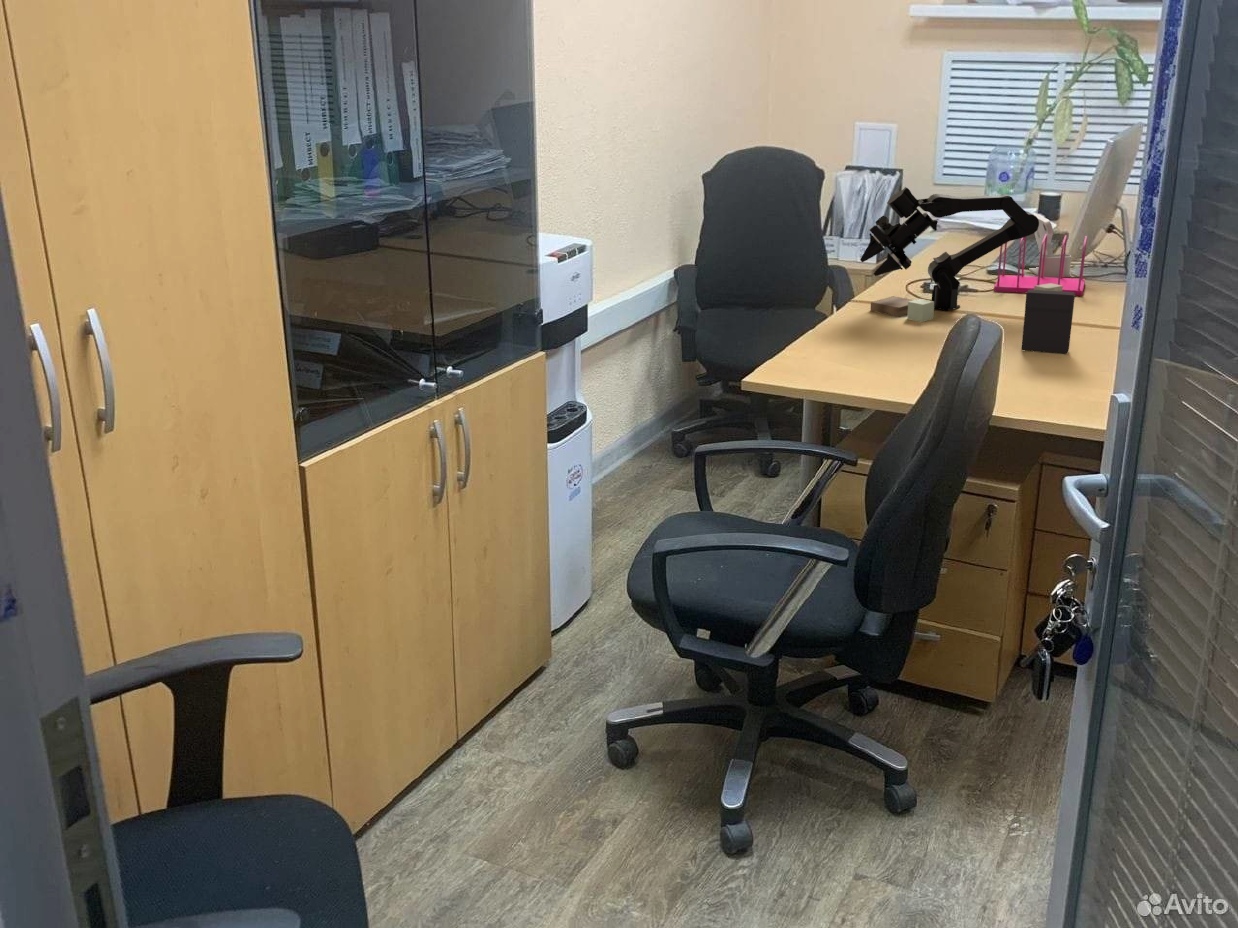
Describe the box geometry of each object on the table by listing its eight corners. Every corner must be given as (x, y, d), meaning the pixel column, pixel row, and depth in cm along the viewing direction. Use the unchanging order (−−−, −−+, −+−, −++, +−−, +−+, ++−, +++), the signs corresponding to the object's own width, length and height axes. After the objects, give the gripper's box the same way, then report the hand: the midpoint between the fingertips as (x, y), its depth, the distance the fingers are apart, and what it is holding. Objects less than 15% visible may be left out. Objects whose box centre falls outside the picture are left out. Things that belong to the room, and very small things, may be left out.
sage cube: (933, 319, 320) (934, 301, 319) (921, 322, 318) (922, 304, 316) (918, 316, 324) (919, 298, 322) (907, 319, 321) (908, 301, 319)
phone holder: (1072, 277, 363) (1078, 219, 357) (1039, 277, 364) (1045, 220, 357) (1053, 265, 380) (1059, 210, 373) (1023, 266, 380) (1028, 211, 373)
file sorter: (1081, 297, 339) (1087, 243, 333) (993, 292, 348) (997, 240, 342) (1084, 284, 354) (1090, 233, 348) (999, 280, 363) (1003, 230, 357)
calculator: (1068, 350, 287) (1075, 291, 281) (1067, 355, 283) (1074, 295, 278) (1022, 347, 291) (1028, 288, 286) (1020, 351, 287) (1026, 292, 282)
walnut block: (920, 311, 330) (921, 301, 329) (898, 318, 324) (898, 307, 323) (892, 306, 337) (893, 296, 336) (870, 312, 332) (870, 302, 330)
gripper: (908, 228, 336) (866, 265, 340) (881, 197, 322) (839, 236, 326) (929, 251, 329) (886, 288, 334) (903, 221, 315) (859, 260, 320)
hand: (867, 268), depth 329 cm, fingers open, 9 cm apart
